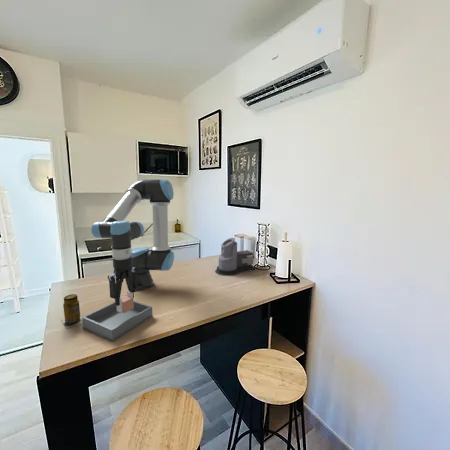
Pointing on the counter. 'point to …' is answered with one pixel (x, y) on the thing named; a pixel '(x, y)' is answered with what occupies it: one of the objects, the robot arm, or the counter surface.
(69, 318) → the condiment
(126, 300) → the cube
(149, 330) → the counter surface
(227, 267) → the juicer
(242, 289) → the counter surface
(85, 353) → the counter surface
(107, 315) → the tote
